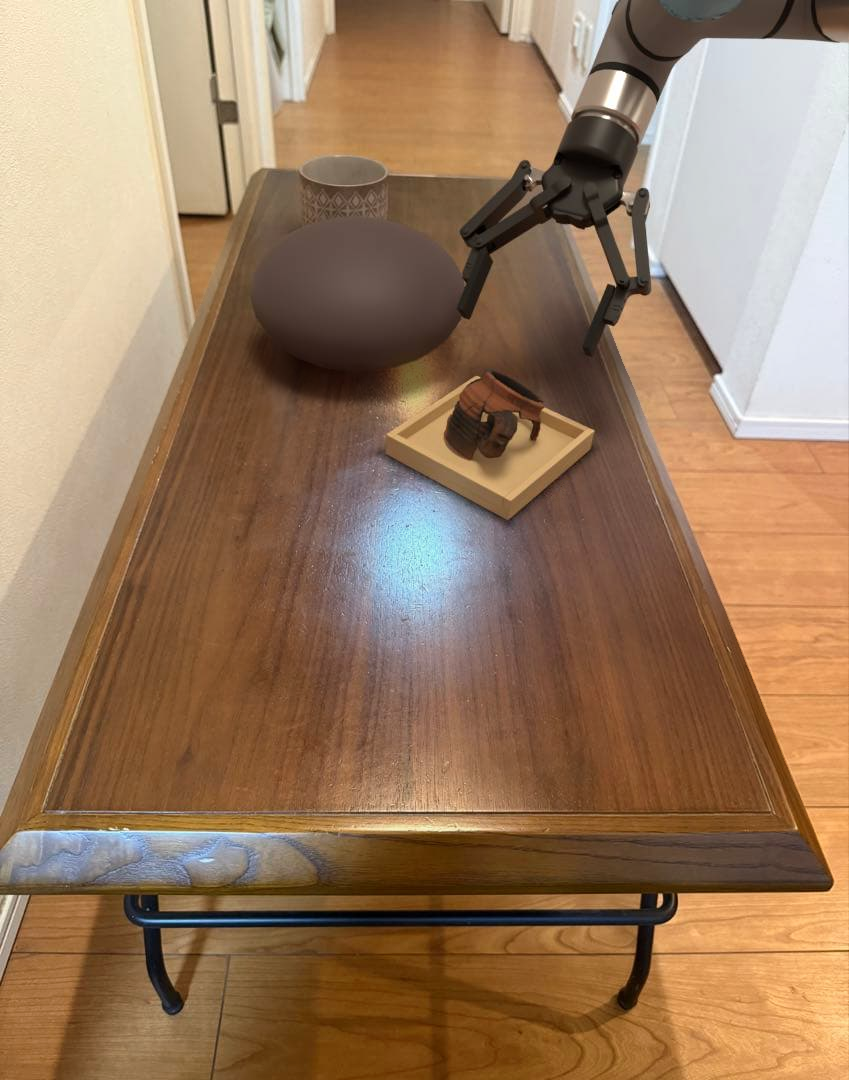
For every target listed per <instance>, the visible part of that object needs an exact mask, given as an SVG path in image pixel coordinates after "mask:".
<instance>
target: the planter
mask: <svg viewBox="0 0 849 1080" xmlns="http://www.w3.org/2000/svg"><path fill="white" fill-rule="evenodd" d="M389 171H390V170H389V168H388V167H387V166H386V165H385V164H384V163H383V162H381V161H379V160H377V159H375V158H372V157H368V156H362V155H356V154H345V153H342V154H341V153H337V154H323V155H319V156H315V157H310V158H309V159H306V160H305V161H303V162H302V163H301V164H300V165H299V167H298V177H299V178H298V181H299V198H300V202H299V203H300V218H301V221H300V222H301V227H303V226H306V225H309V224H312V223H315V222H319V221H323V220H327V219H332V218H339V217H352V216H357V217H373V218H380V219H385V220H389V219H388V215H389Z"/></svg>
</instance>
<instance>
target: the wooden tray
mask: <svg viewBox="0 0 849 1080" xmlns="http://www.w3.org/2000/svg"><path fill="white" fill-rule="evenodd" d="M479 378H481V377H480V376H478V375H474V376H473V377H471V378H470V379H469V380H467V381H465V382H464V383H462V384H461V385H459V386H458V387H456V388H455V389H453V390H451V391H450V392H449V393H447V394H445V395H443V397H441V398H440V399H437V401H435V402H433V403H432V404H430V405H429V406H427V407H426V408H424V409H423V410H421V411H420V412H417V414H415V415H414V416H412V417H410V418H409V419H407V420H406V421H404V422H403V423H400V424H399V425H398V426H397V427H395V428H394V429H392V430H391V431H389V432H387V433H386V434H385V455H387V456H388V457H391V458H392V459H394V460H396V461H398V462H400V463H401V464H404V465H405V466H407V467H409V468H411V469H413V470H414V471H416V472H418V473H419V474H422V475H423V476H426V477H427V478H429V479H431V480H433V481H435V482H436V483H438V484H440V485H442V486H444V487H445V488H447V489H449V490H451V491H453V492H455V493H457V494H458V495H460V496H462V497H464V498H465V499H468V500H470V501H471V502H473V503H475V504H477V505H479V506H480V507H482V508H484V509H486V510H488V511H490V512H491V513H493V514H495V515H497V516H498V517H501V518H502V519H504V520H506V521H509V520H510V519H511V518H512V517H513V516H515V515H516V514H518V512H520V511H521V510H522V509H523V508H524V507H525V506H527V504H529V503H530V502H532V500H534V498H536V497H537V496H538V495H539V494H540V493H541V492H543V491H544V490H545V489H546V488H547V487H549V486H550V485H551V484H552V483H553V482H554V481H555V480H556V479H558V478H559V477H560V476H561V475H562V474H564V473H565V472H566V471H567V470H569V469H570V468H571V467H572V466H573V465H574V464H576V462H578V461H579V460H580V459H581V458H582V457H584V456H585V455H586V454H587V453H588V452H589V451H591V449H592V444H593V439H594V435H595V430H594V429H592V428H590V427H588V426H585V425H583V424H581V423H580V422H577V421H575V420H572V419H571V418H569V417H567V416H565V415H562V414H560V413H558V412H555V411H554V410H552V409H549V408H547V407H546V406H545V407H544V409H542V411H541V412H540V418H541V425H540V431H539V436H538V437H537V438H536V441H533V440H531V439H530V434H531V431H532V428H533V424H532V422H531V421H528V420H527V419H520V418H519V413H514V412H513V414H515V415H516V416H517V418H518V425H517V431H516V433H515V434H514V436H513V438H512V439H511V440H510V441H509V443H508V445H507V446H506V448H505V451H504V452H503V453H502V455H501V456H500V457H497V458H486V457H484V456H483V455H482V454H481V453H480V451H479V449H478V446H477V449H476V451H475V452H474V455H473V458H472V459H468V458H466V457H464V456H463V455H461V454H460V453H458V452H457V451H456V450H454V448H453V447H452V446H450V445H449V443H448V442H447V440H446V438H445V437H444V432H445V430H446V425H447V419H448V417H449V416H450V414H453V410H454V408H455V405H456V404H457V401H459V400H460V398H459V396H460V394H461V392H462V391H463V389H464V388H466V386H467V385H468V384H469V383H471V382H472V381H474V380H476V379H479ZM488 415H489V414H486V413H485V412H483V413H482V418H481V422H485V421H487V416H488Z"/></svg>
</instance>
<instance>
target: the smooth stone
mask: <svg viewBox="0 0 849 1080" xmlns="http://www.w3.org/2000/svg"><path fill="white" fill-rule="evenodd" d="M465 286H466V285H465V281H464V279H463V278H462V272H461V271H460V268H459V266H458V264H457V263H456V261H455V260H454V258H453V257H452V256H451V255H450V253H449V252H448V251H447V250H446V249H445V248H444V247H443V246H442V245H440V244H439V243H438V241H435V240H434V239H433V238H431V237H430V236H428V235H427V234H425V233H424V232H421V231H420V230H418V229H417V228H413V227H411V226H409V225H405V224H402V223H400V222H396V221H392V220H389V219H388V220H385V219H380V218H373V217H357V216H352V217H339V218H332V219H327V220H323V221H319V222H315V223H312V224H309V225H306V226H303V227H302V226H301V227H299V228H297V229H295V230H293V231H291V232H290V233H288V234H286V235H285V236H283V237H282V238H280V239H279V240H278V241H276V242H275V243H273V245H271V246H270V248H269V249H268V250H267V251H266V252H265V253H264V254H263V256H262V257H261V258H260V260H259V262H258V263H257V266H256V268H255V270H254V272H253V274H252V279H251V284H250V294H249V297H250V301H251V305H252V308H253V312H254V316H255V319H256V321H257V322H258V323H259V325H260V326H261V327H262V329H263V331H265V333H266V334H267V336H268V338H270V339H271V340H272V341H273V342H274V343H276V344H277V345H278V346H279V347H281V349H283V350H284V351H286V352H287V353H289V354H291V355H292V356H294V357H296V358H298V359H299V360H302V361H305V362H308V363H310V364H313V365H316V366H319V367H322V368H326V369H330V370H333V371H342V372H350V373H369V372H370V373H371V372H381V371H386V370H390V369H395V368H399V367H401V366H404V365H407V364H410V363H414V362H416V361H419V360H420V359H422V358H425V357H426V356H428V355H430V354H431V353H433V352H434V351H435V350H436V349H438V348H439V347H440V346H441V345H442V344H444V343H445V342H446V341H447V340H448V339H449V338H450V336H451V335H452V333H454V331H455V330H456V328H457V327H458V325H459V323H460V322H461V320H462V318H463V317H462V315H461V314H460V313H459V311H458V310H457V306H458V303H459V301H460V298H461V296H462V293H463V291H464V288H465Z"/></svg>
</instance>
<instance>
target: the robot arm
mask: <svg viewBox="0 0 849 1080" xmlns="http://www.w3.org/2000/svg"><path fill="white" fill-rule="evenodd" d="M704 39H705V40H706V39H729V40H730V39H732V40H733V39H734V40H737V39H738V40H739V39H741V40H746V39H747V40H766V39H768V40H769V39H770V40H771V39H772V40H796V41H797V40H798V41H816V42H827V43H835V44H839V43H843V44H844V43H845V44H849V0H617V1H616V2H615V3H614V6H613V8H612V11H611V16H610V20H609V22H608V25H607V28H606V31H605V33H604V36H603V38H602V41H601V43H600V45H599V48H598V51H597V53H596V55H595V58H594V61H593V63H592V66H591V68H590V71H589V73H588V75H587V78H586V80H585V82H584V84H583V86H582V87H583V88H582V89H581V92H580V94H579V96H578V98H577V100H576V102H575V103H576V104H575V106H574V108H573V110H572V112H571V116H570V120H571V121H569V123H568V124H567V125H566V128H565V131H564V133H563V135H562V137H561V140H560V143H559V145H558V147H557V150H556V153H555V155H554V158H553V161H552V164H551V165H550V166H549V168H548V169H546V170H545V171H544V170H541V169H538V168H535V167H533V166H532V163H531V162H530V161H529V160H527V159H523V160H521V161H520V162H519V164H518V165H517V167H516V168H515V171H514V173H513V174H512V177H511V178H510V179H509V180H508V181H507V182H506V183H505V184H504V185H503V186H502V187H501V188H500V189H499V190H498V191H497V192H496V193H495V194H494V195H493V196H492V197H491V198H490V199H489V200H487V202H486V203H484V205H483V206H482V207H480V209H479V210H478V211H477V212H476V213H474V215H473V216H472V217H471V218H470V219H469V220H468V221H466V223H465V224H464V225H463V226H461V228H460V229H459V235H460V236H461V239H462V240H463V242H464V244H465V245H466V247H468V248H470V252H469V255H468V257H467V259H466V261H465V262H466V263H465V265H464V267H463V269H462V272H461V275H462V278H463V280H464V283H465V285H464V286H465V288H464V291H463V293H462V296H461V298H460V301H459V303H458V306H457V310H458V311H459V313H460V314H461V315H462V317H461V318H463V319H465V320H469V321H470V320H471V319H472V316H473V313H474V310H475V309H476V306H477V304H478V300H479V298H480V296H481V293H482V290H483V288H484V286H485V283H486V281H487V279H488V276H489V273H490V272H491V269H492V266H493V264H494V260H493V259H492V258H493V257H491V255H492V254H493V253H495V252H497V251H498V250H500V249H501V248H503V247H505V246H506V245H508V244H509V243H511V242H513V241H514V240H515V239H517V238H519V237H521V236H522V235H523V234H525V233H526V232H528V231H529V230H531V229H533V228H535V227H537V225H544V224H545V223H547V222H549V221H550V220H552V219H553V220H554V221H555V223H556V224H560V225H571V226H573V227H574V228H576V229H578V230H579V229H580V230H583V231H585V230H586V229H587V228H591V227H594V229H595V232H596V235H597V239H599V242H600V245H601V248H602V250H603V254H604V256H605V258H606V261H607V264H608V267H609V270H610V272H611V275H612V277H613V280H614V283H615V285H614V284H610V283H607V284H606V286H605V289H604V292H603V294H602V296H601V299H600V302H599V303H598V306H597V309H596V311H595V313H594V316H593V318H592V321H591V323H590V325H589V327H588V331H587V333H586V335H585V338H584V340H583V343H582V345H581V348H582V350H583V353H584V356H586V357H589V358H593V357H594V355H595V353H596V350H597V348H598V345H599V343H600V340H601V338H602V335H603V333H604V331H605V328H606V326H611V327H615V326H616V325H617V324H618V323H619V321H620V319H621V315H622V314H623V310H624V309H625V306H626V305H627V301H628V300H629V298H630V297H632V296H634V295H641V296H643V297H646V296H649V295H650V294H651V292H652V289H653V287H652V278H651V268H650V267H651V266H650V257H649V245H648V236H647V234H648V233H647V219H648V215H649V212H650V208H651V199H650V191H649V189H648V188H647V187H640V188H639V189H638V190H636V191H631V190H624V188H625V185H626V183H627V179H628V177H629V175H630V172H631V171H632V167H633V165H634V163H635V160H636V158H637V154H638V152H639V147H640V146H641V144H642V143H643V140H644V137H645V135H646V133H647V130H648V128H649V125H650V123H651V121H652V119H653V116H654V115H655V112H656V108H657V105H658V104H659V101H660V98H661V96H662V93H663V90H664V88H665V86H666V84H667V81H668V79H669V77H670V75H671V72H672V70H673V69H674V67H675V66H676V64H677V63H678V62H679V61H680V60H681V59H682V58H683V57H684V56H685V55H687V54H688V53H689V52H690V51H691V50H692V49H694V47H695V46H696V45H697V44H698V43H699V42H700V41H702V40H704ZM537 186H541V187H542V191H541V192H539V193H538V194H536V195H535V196H533V197H532V198H530V200H529V202H528V203H527V204H525V205H524V206H522V207H521V208H519V209H518V210H516V211H514V212H513V213H511V214H510V215H508V214H509V213H510V212H511V211H512V210H513V209H514V208H515V207H516V206H517V205H518V204H519V203H520V202H521V201H522V200H523V199H524V198H525V196H526V195H527V193H528V192H530V193H531V192H533V191H534V189H535V188H536V187H537ZM621 206H624V207H625V212H626V215H627V216H628V217H631V225H632V237H633V248H634V259H635V270H636V276H630V275H629V273H628V271H627V268H626V266H625V263H624V260H623V258H622V254H621V252H620V250H619V247H618V244H617V241H616V238H615V236H614V233H613V230H612V228H611V225H610V223H609V219H608V216H609V215H610V214H612V213H614V212H615V211H616V210H618V209H619V208H620V207H621ZM507 215H508V216H507ZM506 216H507V217H506Z"/></svg>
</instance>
